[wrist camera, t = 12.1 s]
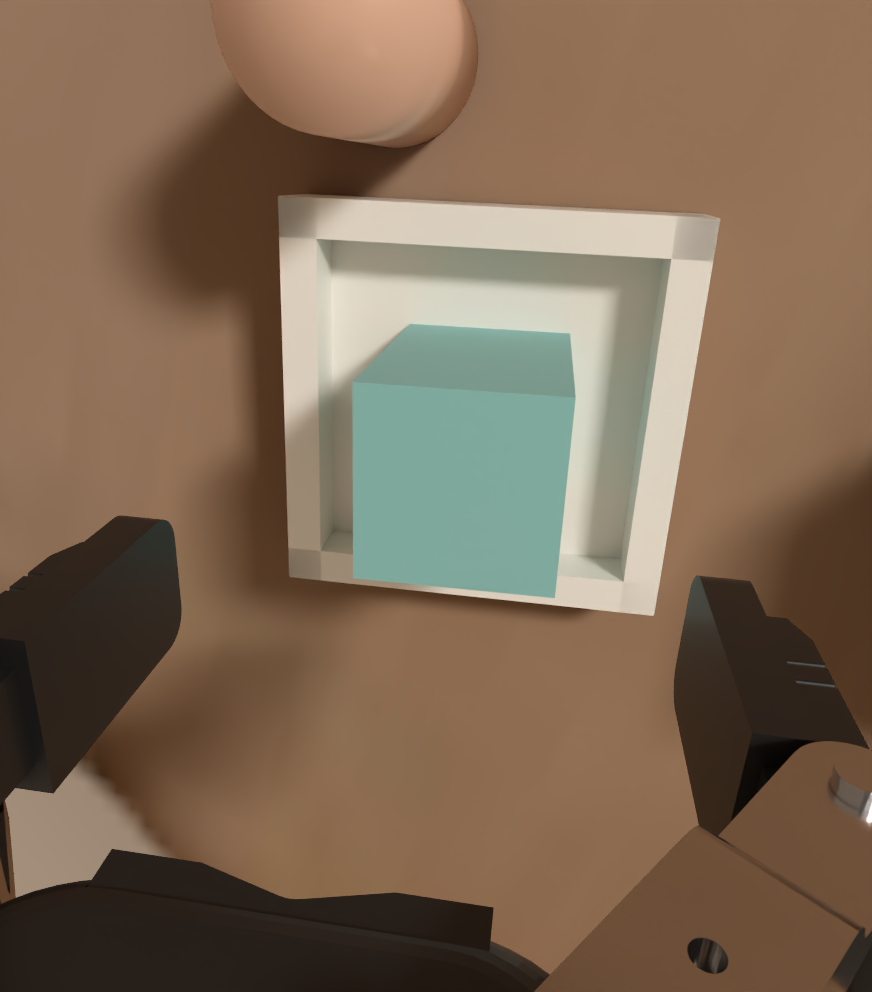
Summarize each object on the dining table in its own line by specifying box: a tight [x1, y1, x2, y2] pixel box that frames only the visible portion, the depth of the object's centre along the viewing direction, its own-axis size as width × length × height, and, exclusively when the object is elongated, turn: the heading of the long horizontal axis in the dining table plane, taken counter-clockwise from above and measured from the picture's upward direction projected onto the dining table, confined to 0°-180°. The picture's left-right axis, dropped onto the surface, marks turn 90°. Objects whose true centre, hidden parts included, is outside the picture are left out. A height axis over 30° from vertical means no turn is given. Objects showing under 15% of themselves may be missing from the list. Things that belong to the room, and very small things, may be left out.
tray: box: [278, 194, 720, 616], centre depth 23 cm, size 11×11×2 cm
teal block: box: [352, 324, 576, 598], centre depth 20 cm, size 4×4×7 cm
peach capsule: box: [211, 0, 478, 148], centre depth 18 cm, size 4×4×7 cm
